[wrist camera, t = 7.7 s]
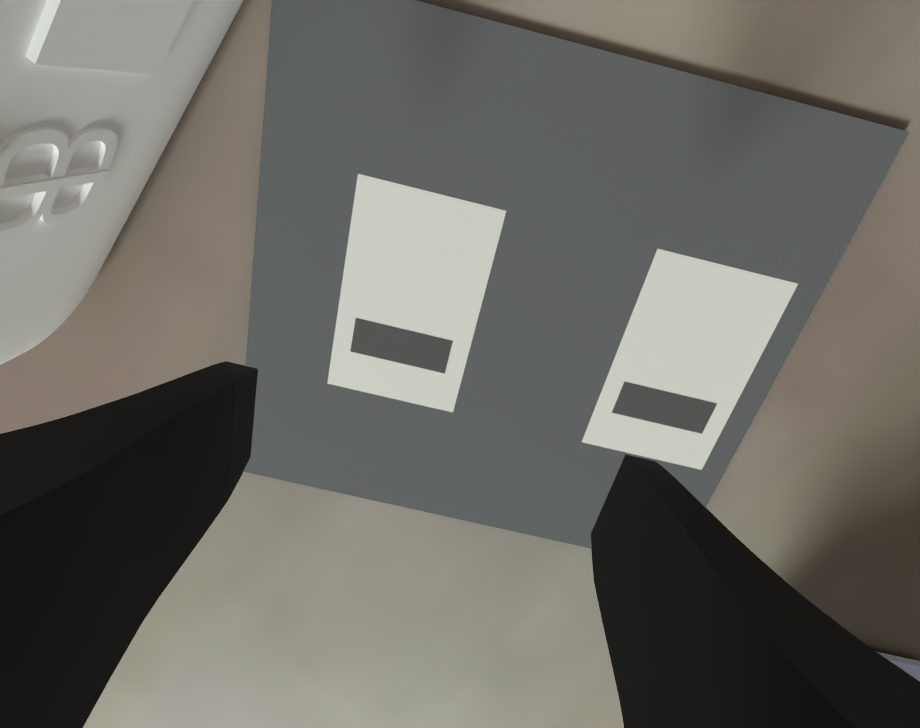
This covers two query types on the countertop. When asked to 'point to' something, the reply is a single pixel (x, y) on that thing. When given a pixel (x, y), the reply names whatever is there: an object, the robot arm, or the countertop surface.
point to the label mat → (525, 261)
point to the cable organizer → (84, 137)
